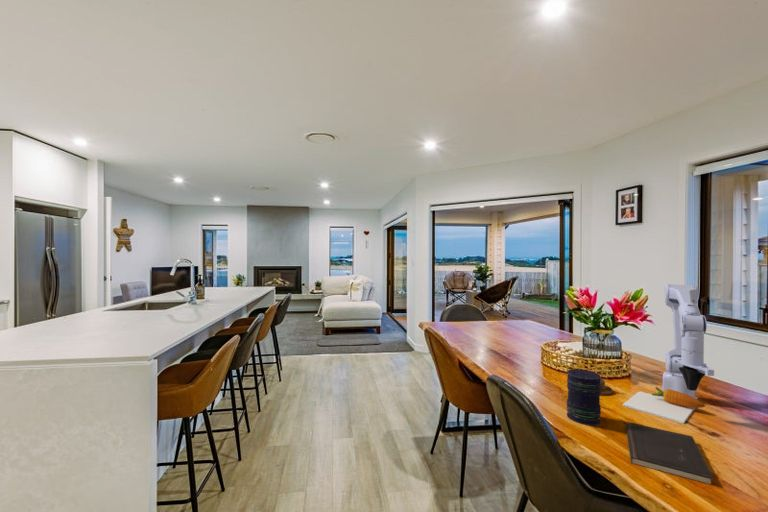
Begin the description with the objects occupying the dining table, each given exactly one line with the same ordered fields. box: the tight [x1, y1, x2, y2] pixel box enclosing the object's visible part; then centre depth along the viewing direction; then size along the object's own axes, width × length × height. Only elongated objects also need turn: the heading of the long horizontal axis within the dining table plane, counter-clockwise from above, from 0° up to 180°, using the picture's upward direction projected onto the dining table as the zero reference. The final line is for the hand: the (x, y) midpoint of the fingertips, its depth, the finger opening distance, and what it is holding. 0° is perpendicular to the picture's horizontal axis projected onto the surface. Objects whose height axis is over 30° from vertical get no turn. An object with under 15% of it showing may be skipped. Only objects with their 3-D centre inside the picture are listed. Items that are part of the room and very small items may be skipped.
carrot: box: [650, 386, 706, 409], centre depth 126 cm, size 5×5×15 cm
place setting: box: [600, 378, 613, 400], centre depth 140 cm, size 18×20×6 cm
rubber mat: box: [622, 391, 696, 425], centre depth 126 cm, size 17×20×1 cm
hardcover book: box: [625, 421, 714, 485], centre depth 96 cm, size 16×23×2 cm
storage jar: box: [566, 362, 602, 426], centre depth 116 cm, size 10×10×18 cm
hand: (691, 389), depth 119 cm, fingers closed
